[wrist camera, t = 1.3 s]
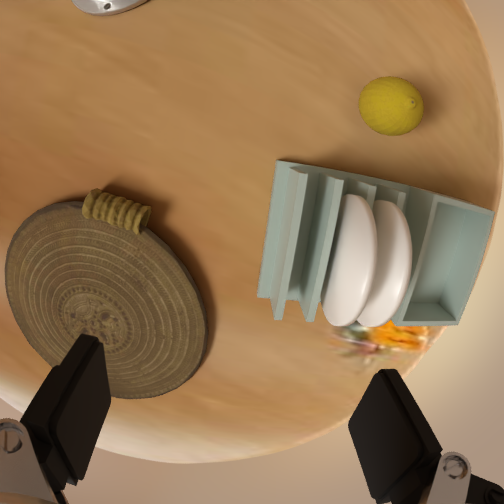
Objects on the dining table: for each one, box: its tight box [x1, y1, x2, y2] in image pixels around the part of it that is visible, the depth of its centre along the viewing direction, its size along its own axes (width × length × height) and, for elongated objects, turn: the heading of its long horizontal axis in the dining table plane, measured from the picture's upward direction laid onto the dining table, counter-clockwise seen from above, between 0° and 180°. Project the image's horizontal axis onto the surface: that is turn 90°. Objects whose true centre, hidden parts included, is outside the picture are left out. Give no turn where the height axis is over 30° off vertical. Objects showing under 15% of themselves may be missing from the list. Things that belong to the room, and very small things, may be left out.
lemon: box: [359, 76, 424, 136], centre depth 23 cm, size 6×6×8 cm
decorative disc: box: [5, 188, 208, 399], centre depth 33 cm, size 29×3×30 cm
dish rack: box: [257, 160, 495, 327], centre depth 26 cm, size 14×24×12 cm, turn 83°
